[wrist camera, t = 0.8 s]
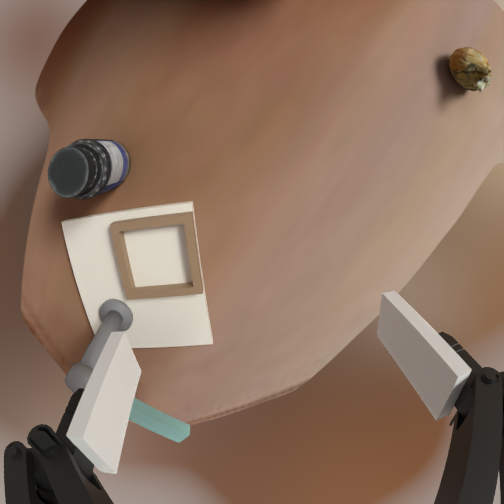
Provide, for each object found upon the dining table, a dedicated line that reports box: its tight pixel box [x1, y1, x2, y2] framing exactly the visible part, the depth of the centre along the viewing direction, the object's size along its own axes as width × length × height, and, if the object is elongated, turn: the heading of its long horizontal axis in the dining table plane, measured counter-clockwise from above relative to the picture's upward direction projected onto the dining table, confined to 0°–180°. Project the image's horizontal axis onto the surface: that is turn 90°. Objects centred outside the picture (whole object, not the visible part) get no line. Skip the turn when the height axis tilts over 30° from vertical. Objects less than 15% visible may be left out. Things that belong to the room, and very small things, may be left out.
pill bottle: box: [48, 139, 130, 200], centre depth 26 cm, size 6×6×11 cm
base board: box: [61, 201, 213, 369], centre depth 30 cm, size 20×18×14 cm
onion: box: [449, 47, 491, 92], centre depth 26 cm, size 8×8×8 cm
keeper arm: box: [65, 363, 190, 443], centre depth 26 cm, size 15×4×2 cm, turn 49°
